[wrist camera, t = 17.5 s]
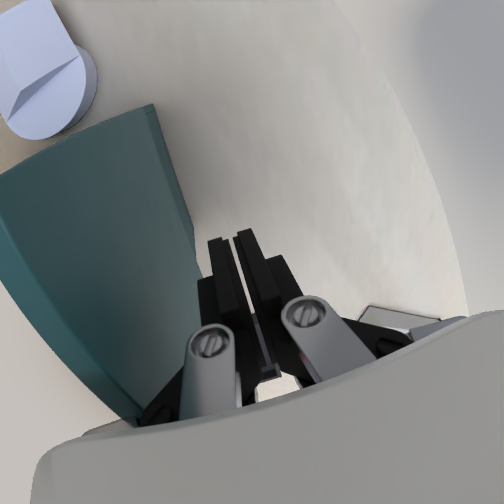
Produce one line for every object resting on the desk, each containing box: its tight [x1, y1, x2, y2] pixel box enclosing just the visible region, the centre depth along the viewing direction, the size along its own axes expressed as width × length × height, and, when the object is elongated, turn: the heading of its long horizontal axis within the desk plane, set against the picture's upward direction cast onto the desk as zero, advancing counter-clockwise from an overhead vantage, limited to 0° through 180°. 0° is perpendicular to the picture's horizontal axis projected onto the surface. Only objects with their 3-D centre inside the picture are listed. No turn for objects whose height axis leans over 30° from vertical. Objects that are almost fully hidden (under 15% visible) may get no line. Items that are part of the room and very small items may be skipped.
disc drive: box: [359, 306, 442, 333], centre depth 48 cm, size 18×22×5 cm
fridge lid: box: [0, 107, 203, 419], centre depth 13 cm, size 15×13×1 cm
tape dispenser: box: [0, 0, 97, 140], centre depth 16 cm, size 9×7×13 cm
